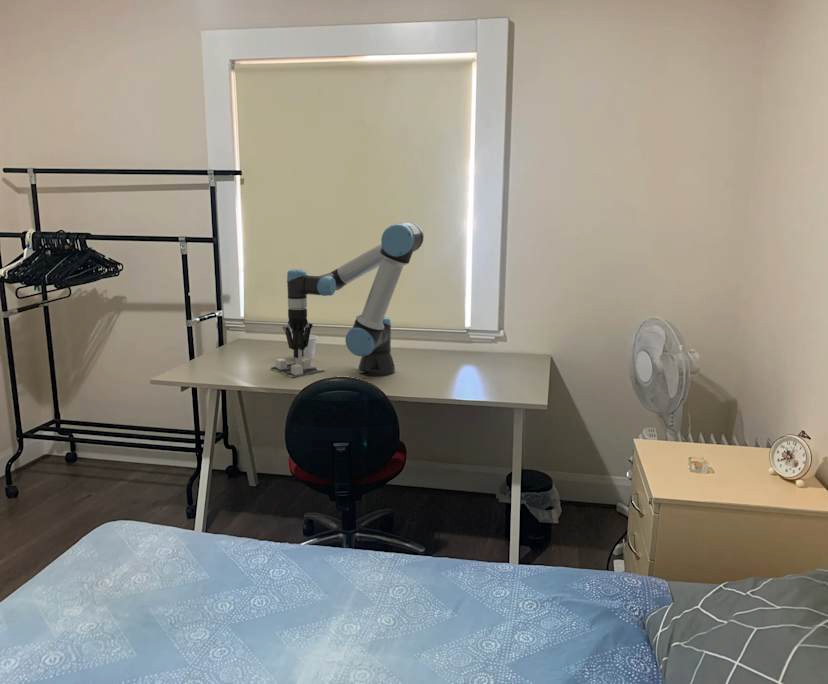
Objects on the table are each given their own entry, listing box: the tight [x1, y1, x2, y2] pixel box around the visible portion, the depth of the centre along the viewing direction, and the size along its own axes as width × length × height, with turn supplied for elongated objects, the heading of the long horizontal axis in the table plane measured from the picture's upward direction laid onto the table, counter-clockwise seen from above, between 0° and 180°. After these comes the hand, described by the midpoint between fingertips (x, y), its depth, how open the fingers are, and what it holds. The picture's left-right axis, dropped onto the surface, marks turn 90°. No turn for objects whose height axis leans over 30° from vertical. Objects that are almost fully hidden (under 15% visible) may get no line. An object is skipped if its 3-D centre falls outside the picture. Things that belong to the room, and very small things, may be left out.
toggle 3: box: [302, 358, 311, 369], centre depth 285 cm, size 4×3×4 cm
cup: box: [302, 334, 318, 361], centre depth 302 cm, size 10×10×11 cm
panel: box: [269, 362, 327, 379], centre depth 283 cm, size 18×16×2 cm
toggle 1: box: [274, 358, 288, 369], centre depth 284 cm, size 4×3×4 cm
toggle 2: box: [291, 364, 303, 375], centre depth 276 cm, size 4×3×4 cm
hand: (298, 364), depth 283 cm, fingers closed
